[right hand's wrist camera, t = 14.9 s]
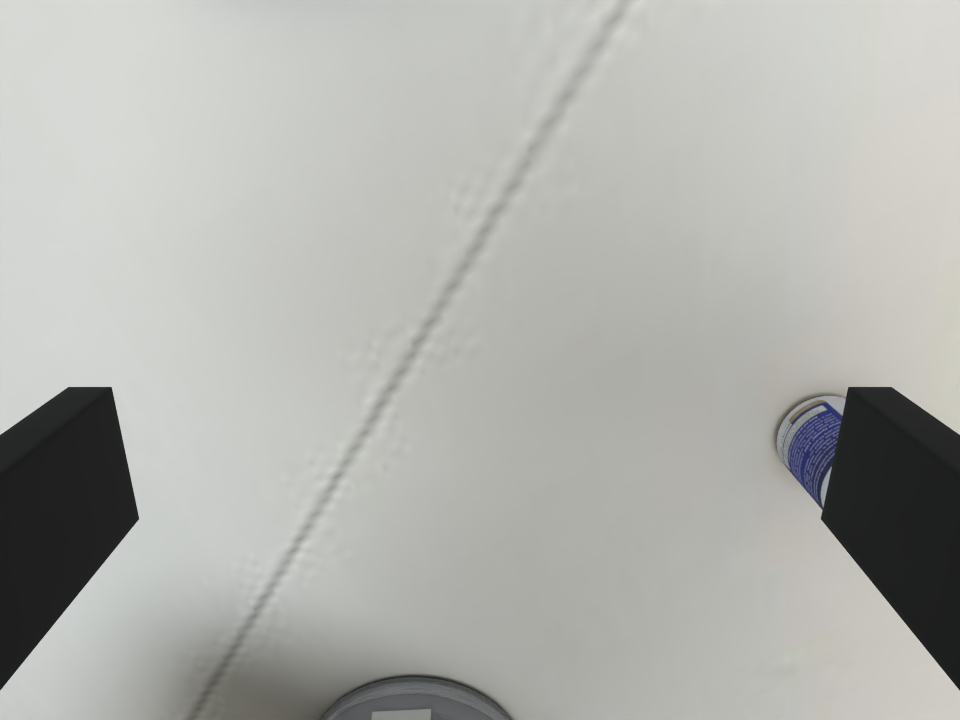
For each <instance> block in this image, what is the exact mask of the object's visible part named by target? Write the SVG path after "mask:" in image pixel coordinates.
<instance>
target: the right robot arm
mask: <svg viewBox="0 0 960 720" xmlns="http://www.w3.org/2000/svg"><path fill="white" fill-rule="evenodd" d="M138 520H139V516H138V511H137V506H136V502H135V497H134V492H133V487H132V483H131V478H130V473H129V468H128V463H127V459H126V454H125V449H124V444H123V440H122V435H121V430H120V425H119V420H118V416H117V411H116V406H115V401H114V396H113V392H112V387H68V388H67V389H65V390H64V391H62V392H61V393H60V394H58V395H57V396H55V397H54V398H52V399H51V400H50V401H48V402H47V403H45V404H44V405H42V406H41V407H40V408H38V409H37V410H35V411H34V412H32V413H31V414H30V415H28V416H27V417H25V418H24V419H23V420H21V421H20V422H18V423H17V424H15V425H14V426H13V427H11V428H10V429H8V430H7V431H5V432H4V433H3V434H1V435H0V690H1V689H2V688H3V686H4V685H5V684H6V683H7V681H8V680H9V679H10V678H11V676H12V675H13V674H14V673H15V671H16V670H17V669H18V668H19V667H20V665H21V664H22V663H23V662H24V660H25V659H26V658H27V657H28V655H29V654H30V653H31V652H32V650H33V649H34V648H35V647H36V646H37V644H38V643H39V642H40V641H41V639H42V638H43V637H44V636H45V634H46V633H47V632H48V631H49V629H50V628H51V627H52V626H53V625H54V623H55V622H56V621H57V620H58V618H59V617H60V616H61V615H62V613H63V612H64V611H65V610H66V608H67V607H68V606H69V605H70V604H71V602H72V601H73V600H74V599H75V597H76V596H77V595H78V594H79V592H80V591H81V590H82V589H83V588H84V586H85V585H86V584H87V583H88V581H89V580H90V579H91V578H92V576H93V575H94V574H95V573H96V571H97V570H98V569H99V568H100V567H101V565H102V564H103V563H104V562H105V560H106V559H107V558H108V557H109V555H110V554H111V553H112V552H113V550H114V549H115V548H116V547H117V546H118V544H119V543H120V542H121V541H122V539H123V538H124V537H125V536H126V534H127V533H128V532H129V531H130V529H131V528H132V527H133V526H134V525H135V523H136V522H137V521H138ZM821 520H822V521H823V522H824V523H825V525H826V526H827V527H828V528H829V529H830V531H831V532H832V533H833V534H834V536H835V537H836V538H837V539H838V541H839V542H840V543H841V544H842V546H843V547H844V548H845V549H846V550H847V552H848V553H849V554H850V555H851V557H852V558H853V559H854V560H855V562H856V563H857V564H858V565H859V567H860V568H861V569H862V570H863V571H864V573H865V574H866V575H867V576H868V578H869V579H870V580H871V581H872V583H873V584H874V585H875V586H876V588H877V589H878V590H879V591H880V592H881V594H882V595H883V596H884V597H885V599H886V600H887V601H888V602H889V604H890V605H891V606H892V607H893V608H894V610H895V611H896V612H897V613H898V615H899V616H900V617H901V618H902V620H903V621H904V622H905V623H906V625H907V626H908V627H909V628H910V629H911V631H912V632H913V633H914V634H915V636H916V637H917V638H918V639H919V641H920V642H921V643H922V644H923V646H924V647H925V648H926V649H927V650H928V652H929V653H930V654H931V655H932V657H933V658H934V659H935V660H936V662H937V663H938V664H939V665H940V667H941V668H942V669H943V670H944V671H945V673H946V674H947V675H948V676H949V678H950V679H951V680H952V681H953V683H954V684H955V685H956V686H957V688H958V689H959V690H960V435H959V434H957V433H956V432H955V431H953V430H952V429H950V428H949V427H947V426H946V425H945V424H943V423H942V422H940V421H939V420H937V419H936V418H935V417H933V416H932V415H930V414H929V413H928V412H926V411H925V410H923V409H922V408H920V407H919V406H918V405H916V404H915V403H913V402H912V401H910V400H909V399H908V398H906V397H905V396H903V395H902V394H900V393H899V392H898V391H896V390H895V389H893V388H892V387H848V392H847V396H846V401H845V406H844V411H843V416H842V420H841V425H840V430H839V435H838V439H837V444H836V449H835V454H834V459H833V463H832V468H831V473H830V478H829V483H828V487H827V492H826V497H825V502H824V506H823V511H822V516H821ZM321 720H510V718H509V717H508V716H507V715H506V714H505V712H504V711H503V710H502V709H500V708H499V707H498V706H497V705H496V704H495V703H493V702H492V701H491V700H489V699H488V698H486V697H485V696H483V695H481V694H480V693H478V692H476V691H474V690H472V689H470V688H467V687H465V686H462V685H459V684H456V683H453V682H449V681H444V680H440V679H433V678H423V677H404V678H394V679H388V680H383V681H379V682H375V683H372V684H369V685H366V686H363V687H361V688H359V689H356V690H354V691H353V692H351V693H349V694H347V695H346V696H344V697H343V698H341V699H340V700H338V701H337V702H336V703H335V704H334V705H332V706H331V707H330V708H329V710H328V711H327V712H326V713H325V714H324V715H323V717H322V718H321Z"/></svg>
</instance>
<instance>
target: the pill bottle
mask: <svg viewBox="0 0 960 720" xmlns="http://www.w3.org/2000/svg"><path fill="white" fill-rule="evenodd" d="M845 401H846V399H845V398H842V397H837V396H821V397H816V398H813V399H810V400H808V401H806V402H804V403H802V404H800V405H799V406H797V407H796V408H795V409H793V410H792V411H791V412H790V413H789V414H788V415H787V417H786V418H785V419H784V421H783V422H782V424H781V426H780V429H779V431H778V435H777V451H778V454H779V456H780V459H781V460H782V462H783V463H784V465H785V466H786V467H787V468H788V470H789V471H790V472H791V473H792V474H793V476H794V477H795V478H796V479H797V480H798V481H799V483H800V484H801V485H802V486H803V487H804V488H805V490H806V491H807V492H808V493H809V494H810V495H811V497H812V498H813V499H814V500H815V501H816V503H817V504H818V505H819V506H820V507H821V509H822V510H823V506H824V502H825V497H826V492H827V487H828V483H829V478H830V473H831V468H832V463H833V459H834V454H835V449H836V444H837V439H838V435H839V430H840V425H841V420H842V416H843V411H844V406H845Z"/></svg>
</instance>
